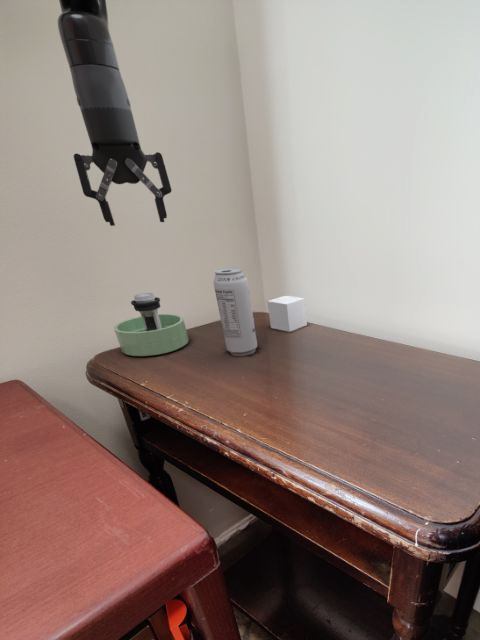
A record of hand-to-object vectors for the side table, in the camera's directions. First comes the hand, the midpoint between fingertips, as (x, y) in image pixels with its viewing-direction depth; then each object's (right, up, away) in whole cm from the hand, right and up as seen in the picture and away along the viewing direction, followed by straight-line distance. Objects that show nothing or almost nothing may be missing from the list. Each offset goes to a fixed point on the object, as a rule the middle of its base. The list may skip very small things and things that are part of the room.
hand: (137, 223), depth 72 cm
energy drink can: (+18, -22, +6) cm, 29 cm away
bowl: (-1, -20, +11) cm, 23 cm away
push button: (-1, -20, +10) cm, 22 cm away
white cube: (+26, -13, +19) cm, 35 cm away
